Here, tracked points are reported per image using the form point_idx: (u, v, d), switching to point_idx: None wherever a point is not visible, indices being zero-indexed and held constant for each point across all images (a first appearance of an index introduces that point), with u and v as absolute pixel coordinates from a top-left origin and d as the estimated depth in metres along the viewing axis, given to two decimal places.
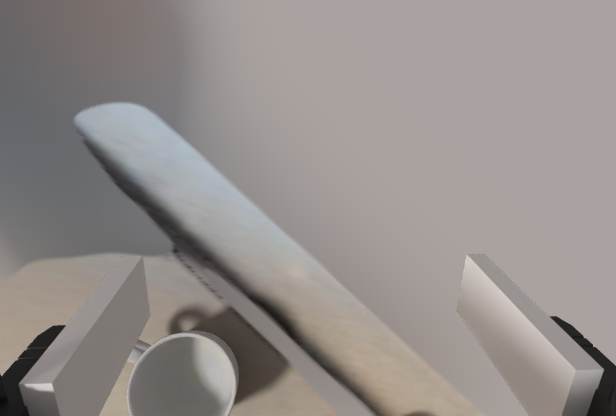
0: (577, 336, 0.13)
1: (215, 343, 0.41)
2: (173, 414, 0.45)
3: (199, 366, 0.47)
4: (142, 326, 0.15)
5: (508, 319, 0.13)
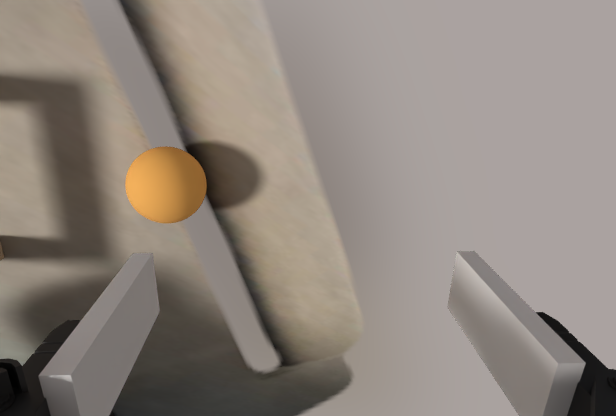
0: (562, 331, 0.13)
1: None
2: None
3: None
4: (152, 322, 0.16)
5: (495, 315, 0.14)
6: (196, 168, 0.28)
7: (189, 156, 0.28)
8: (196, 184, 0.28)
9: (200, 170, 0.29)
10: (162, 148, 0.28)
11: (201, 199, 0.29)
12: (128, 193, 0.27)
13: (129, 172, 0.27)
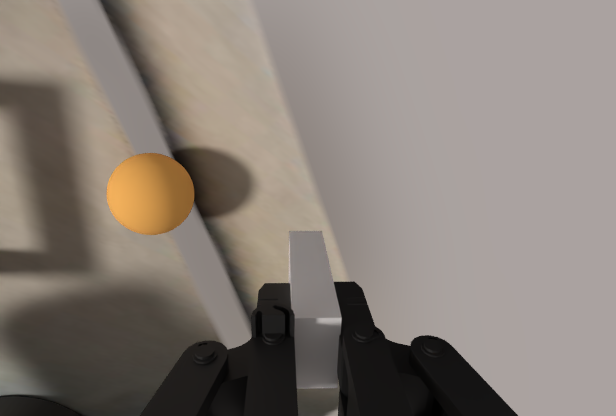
0: (359, 296, 0.14)
1: None
2: None
3: None
4: None
5: None
6: (182, 175, 0.26)
7: (175, 163, 0.27)
8: (182, 193, 0.26)
9: (187, 178, 0.27)
10: (146, 155, 0.26)
11: (188, 209, 0.27)
12: (109, 203, 0.25)
13: (110, 181, 0.25)
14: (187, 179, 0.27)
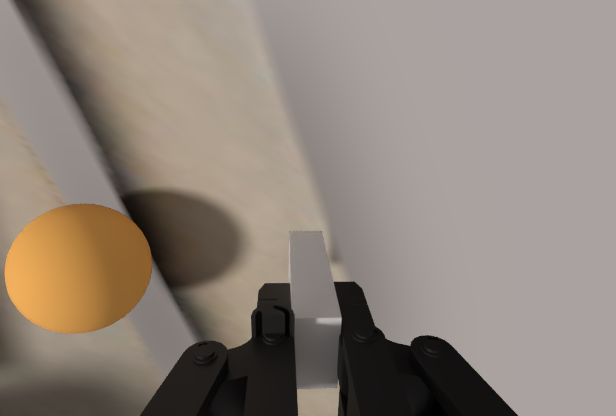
0: (359, 296, 0.14)
1: None
2: None
3: None
4: None
5: None
6: (128, 242, 0.17)
7: (118, 221, 0.17)
8: (127, 271, 0.16)
9: (137, 244, 0.17)
10: (69, 210, 0.16)
11: (140, 291, 0.17)
12: (7, 290, 0.16)
13: (8, 254, 0.16)
14: (137, 246, 0.17)
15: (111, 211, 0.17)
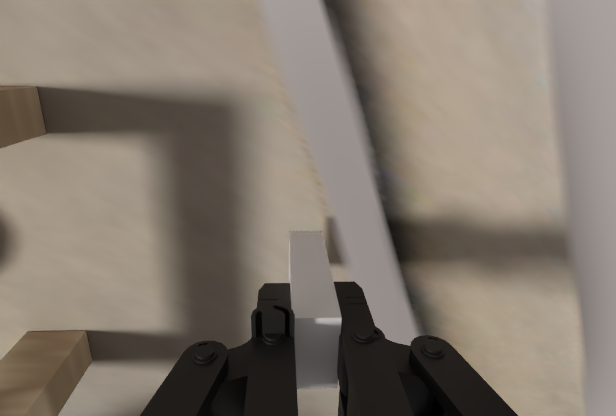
0: (359, 296, 0.14)
1: None
2: None
3: None
4: None
5: None
6: None
7: None
8: None
9: None
10: None
11: None
12: None
13: None
14: None
15: None
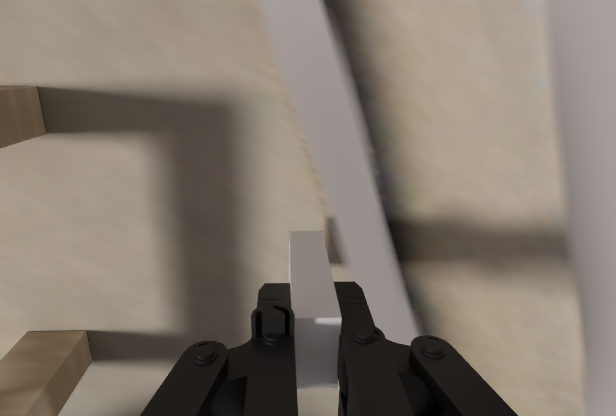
0: (359, 296, 0.14)
1: None
2: None
3: None
4: None
5: None
6: None
7: None
8: None
9: None
10: None
11: None
12: None
13: None
14: None
15: None
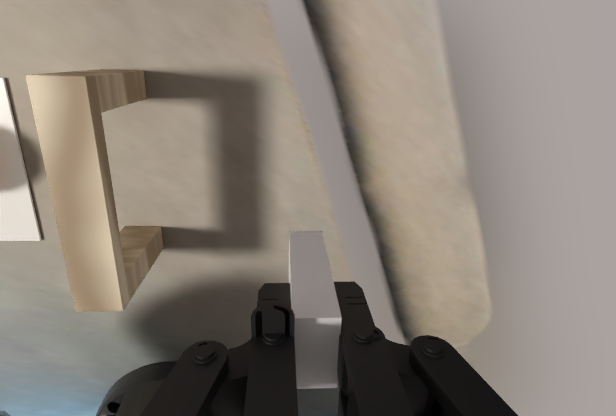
0: (359, 296, 0.14)
1: None
2: None
3: None
4: None
5: None
6: None
7: None
8: None
9: None
10: None
11: None
12: None
13: None
14: None
15: None
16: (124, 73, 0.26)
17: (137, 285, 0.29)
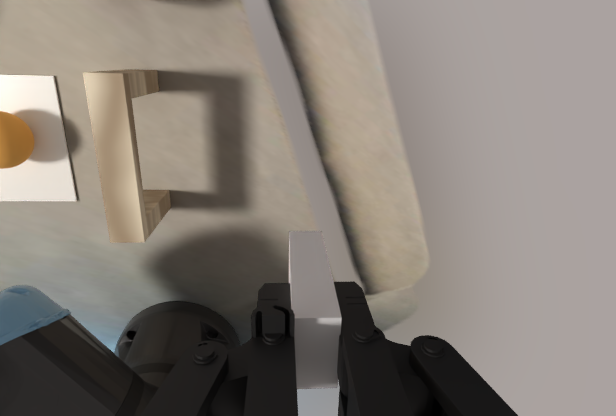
0: (359, 296, 0.14)
1: None
2: None
3: None
4: None
5: None
6: None
7: None
8: None
9: None
10: None
11: None
12: (26, 143, 0.38)
13: (17, 129, 0.38)
14: None
15: None
16: (145, 72, 0.36)
17: (153, 227, 0.39)
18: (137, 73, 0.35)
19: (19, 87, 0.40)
